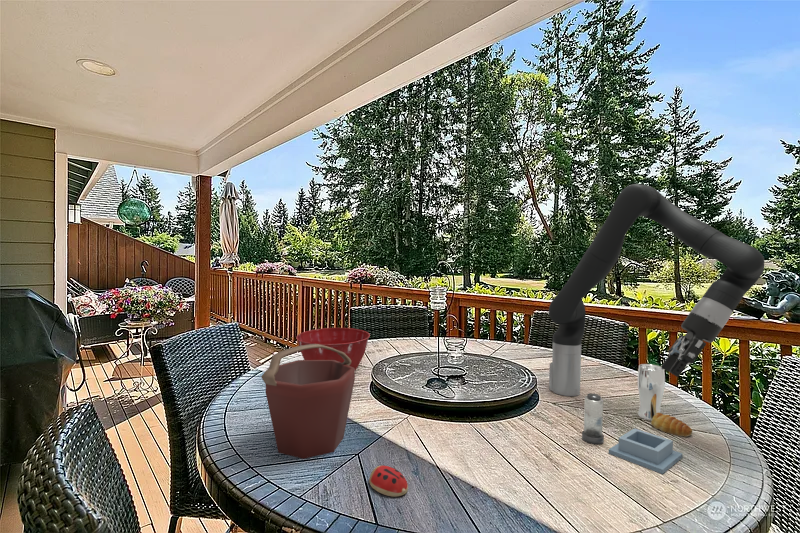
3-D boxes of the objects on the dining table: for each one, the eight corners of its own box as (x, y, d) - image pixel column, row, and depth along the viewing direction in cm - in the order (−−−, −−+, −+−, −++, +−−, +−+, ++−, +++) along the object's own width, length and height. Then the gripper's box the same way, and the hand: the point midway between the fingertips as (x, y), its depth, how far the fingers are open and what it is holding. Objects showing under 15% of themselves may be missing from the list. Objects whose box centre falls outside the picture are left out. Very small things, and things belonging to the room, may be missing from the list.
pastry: (696, 434, 115) (697, 420, 115) (684, 440, 111) (685, 426, 111) (660, 422, 123) (660, 409, 123) (648, 427, 119) (648, 414, 119)
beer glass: (667, 422, 122) (669, 371, 121) (641, 420, 123) (642, 369, 123) (657, 413, 129) (659, 364, 128) (633, 411, 130) (634, 363, 129)
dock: (608, 453, 104) (608, 437, 104) (630, 439, 111) (630, 424, 111) (662, 474, 94) (663, 456, 94) (682, 457, 102) (683, 441, 102)
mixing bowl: (366, 385, 153) (366, 343, 152) (287, 384, 154) (287, 342, 153) (372, 363, 181) (372, 327, 181) (306, 363, 182) (305, 327, 181)
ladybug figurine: (383, 472, 95) (383, 457, 95) (416, 490, 88) (417, 473, 88) (361, 485, 90) (361, 468, 90) (394, 504, 83) (394, 487, 83)
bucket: (267, 473, 94) (266, 362, 93) (252, 433, 114) (250, 341, 112) (369, 449, 105) (368, 350, 104) (339, 417, 125) (338, 333, 124)
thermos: (578, 439, 111) (579, 395, 111) (588, 433, 115) (589, 390, 114) (597, 446, 107) (598, 400, 107) (607, 440, 111) (608, 396, 110)
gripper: (683, 311, 115) (649, 360, 117) (700, 311, 102) (660, 366, 104) (712, 326, 113) (676, 376, 114) (733, 329, 99) (692, 385, 101)
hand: (669, 372), depth 109 cm, fingers open, 8 cm apart
